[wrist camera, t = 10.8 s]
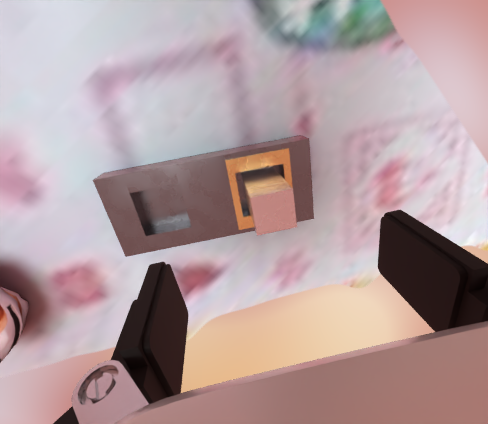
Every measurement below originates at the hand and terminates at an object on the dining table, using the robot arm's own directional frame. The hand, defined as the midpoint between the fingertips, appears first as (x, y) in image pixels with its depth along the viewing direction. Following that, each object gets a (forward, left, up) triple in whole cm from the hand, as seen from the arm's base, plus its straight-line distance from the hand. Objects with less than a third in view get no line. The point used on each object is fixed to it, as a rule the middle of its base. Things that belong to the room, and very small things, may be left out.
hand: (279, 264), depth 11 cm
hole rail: (+4, -4, -22) cm, 23 cm away
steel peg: (+4, +2, -22) cm, 22 cm away
